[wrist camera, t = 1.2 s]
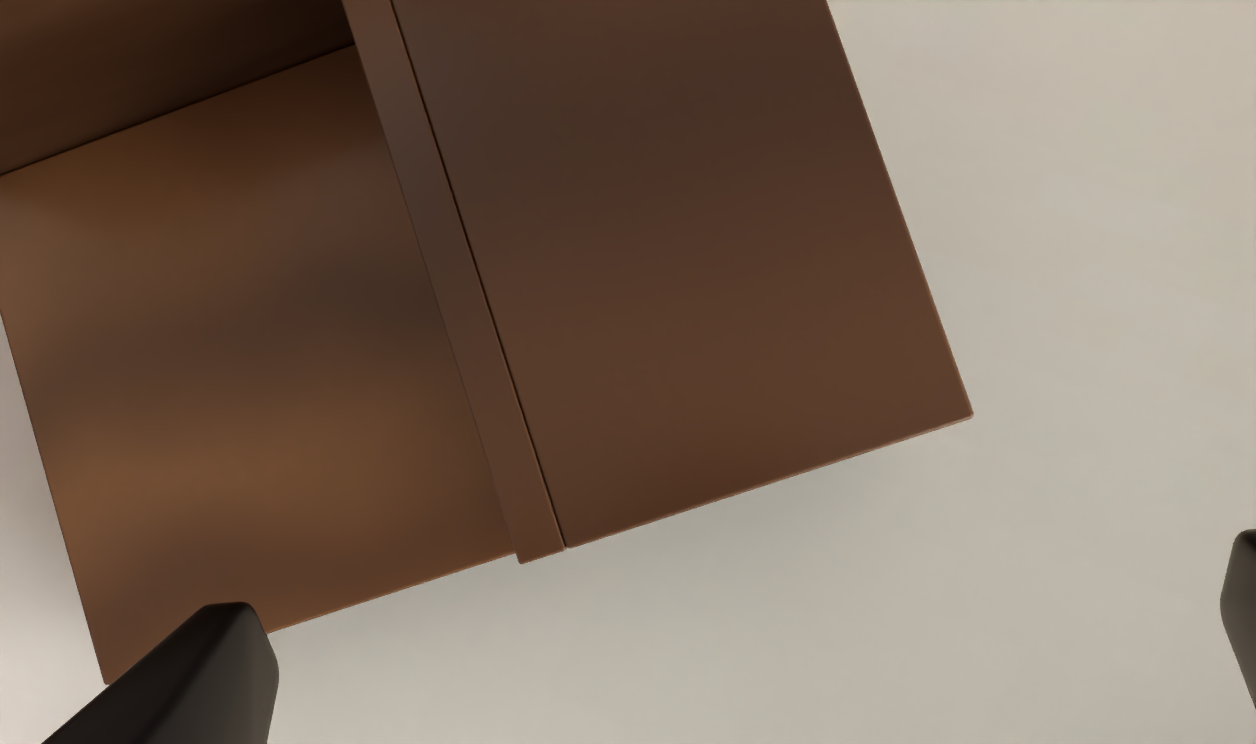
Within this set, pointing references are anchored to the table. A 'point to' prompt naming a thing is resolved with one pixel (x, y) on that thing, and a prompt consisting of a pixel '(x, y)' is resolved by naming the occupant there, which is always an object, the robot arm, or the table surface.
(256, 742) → the robot arm
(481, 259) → the step shelf
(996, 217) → the table surface
